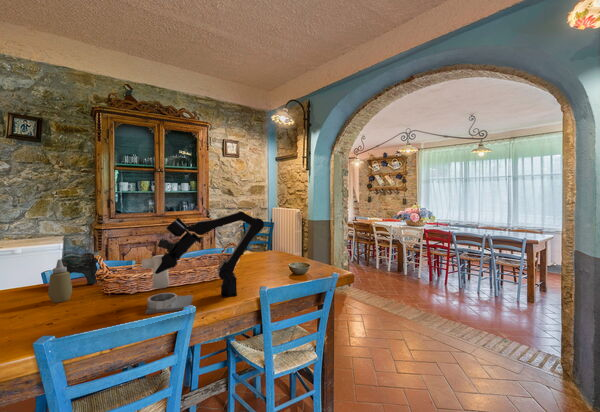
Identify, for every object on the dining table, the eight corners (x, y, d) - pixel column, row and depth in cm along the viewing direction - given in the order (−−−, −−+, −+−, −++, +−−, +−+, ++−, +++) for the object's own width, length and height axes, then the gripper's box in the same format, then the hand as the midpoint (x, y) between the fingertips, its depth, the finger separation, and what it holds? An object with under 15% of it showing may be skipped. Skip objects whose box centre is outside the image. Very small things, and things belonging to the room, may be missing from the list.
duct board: (192, 297, 126) (192, 288, 126) (189, 309, 113) (189, 299, 113) (152, 301, 122) (152, 291, 122) (144, 314, 108) (144, 303, 108)
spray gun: (102, 282, 148) (101, 244, 147) (94, 286, 142) (93, 247, 141) (63, 283, 147) (62, 245, 146) (53, 287, 141) (52, 247, 140)
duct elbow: (167, 283, 124) (167, 254, 124) (169, 287, 119) (168, 256, 119) (142, 287, 119) (141, 256, 119) (142, 291, 114) (141, 259, 114)
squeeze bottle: (76, 298, 124) (75, 258, 124) (54, 305, 117) (53, 262, 116) (66, 296, 128) (65, 257, 127) (44, 302, 120) (42, 260, 120)
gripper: (172, 229, 130) (145, 254, 126) (166, 234, 112) (136, 264, 109) (190, 245, 132) (165, 270, 129) (188, 252, 115) (159, 282, 112)
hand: (156, 271), depth 120 cm, fingers closed on duct elbow, 6 cm apart
